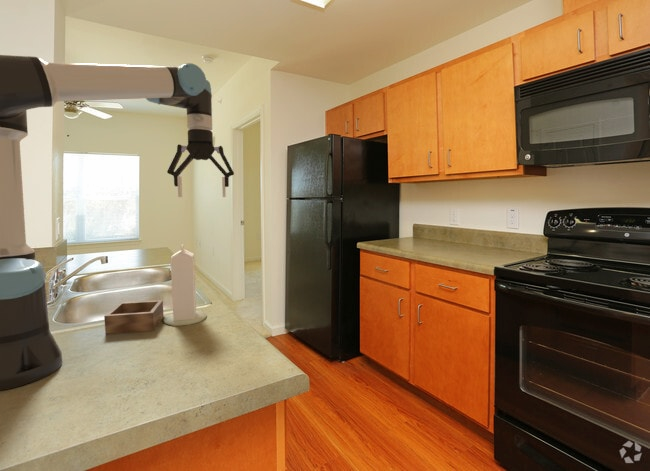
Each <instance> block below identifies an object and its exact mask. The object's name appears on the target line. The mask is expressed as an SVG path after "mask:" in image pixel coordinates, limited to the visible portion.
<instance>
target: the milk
mask: <svg viewBox="0 0 650 471" xmlns="http://www.w3.org/2000/svg"><path fill="white" fill-rule="evenodd" d="M184 245H185V244H184V243H182V244H181V246H180V250H178V251H177V252H175V253H174V254H172V255H171V257H170V274H171V276H170V277H171V292H172V296H171V297H172V313H173V320H174V321H177V320H188V319H195V316H196V310H197V294H196V291H197V290H196V272H195V271H196V269H195V267H196V266H195V253H194V252H191V251H189V249H188V250H187V249H185V247H184Z"/></svg>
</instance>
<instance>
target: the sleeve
mask: <svg viewBox="0 0 650 471" xmlns="http://www.w3.org/2000/svg"><path fill="white" fill-rule="evenodd" d="M163 315H164V300H162V299H159V300H145V301H143V300H142V301H125V302H119V303H118V304H116V305H115V306H114V307H113V308H112V309H110V311H108V313H106V314H105V315H104V329H105V330H104V332H105V335H109V334H123V333H136V332H138V333H139V332H148V331H155V329H156V328H157V326H158V325H157V324H159V323H160V322H161V321H162V319H161V318H164V316H163ZM159 321H160V322H159Z"/></svg>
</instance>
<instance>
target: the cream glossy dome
mask: <svg viewBox="0 0 650 471" xmlns="http://www.w3.org/2000/svg"><path fill="white" fill-rule="evenodd" d="M206 318H207V313H206V312H204V311H203V310H197V309H196V316H195V319H188V320H177V321H174V320H173V312H171V313H170V314H167V315H166V316H164V317H163V323H164V324H165V325H168V326H172V327H174V326H175V327H179V326H180V327H182V326H190V325H194V324H199V323H200V322H203V321H204V320H205V319H206Z"/></svg>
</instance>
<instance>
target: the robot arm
mask: <svg viewBox="0 0 650 471" xmlns="http://www.w3.org/2000/svg"><path fill="white" fill-rule="evenodd" d="M212 97H213V95H212V87H211V83H210V81H209V80H207V77H206V74H205V73H204V71H203V69H202V68H201V67H200V66H199V65H197V64H194V63H192V62H187V63H183V64H180V65H179V66H158V65H130V64H128V65H127V64H105V63H104V64H103V63H102V64H100V63H99V64H98V63H70V62H46V61H44V60H43V59H42V58H40V57H39V56H27V55H9V54H0V391H5V390H9V389H13V388H17V387H21V386H25V385H28V384H31V383H33V382H36V381H39V380H41V379H44V378H45V377H47V376H49V375H51V374H53V373H54V372H55V371H57V370H58V369H59V368H60V367H61V366H62V364H63V355H62V351H61V349H60V347H59V345H58V343H57V341H56V339H55V338H54V336H53V334H52V333H51V330H50V324H49V323H50V322H49V310H48V300H47V299H48V298H47V289H46V280H47V275H46V272H45V269H44V266H43V264H42V263H41V262H39V260H38V261H37V260H36V251H35V249H34V248H32V247H31V246H29V245H28V244H27V238H26V237H27V236H26V223H25V222H26V221H25V219H26V218H25V206H24V193H23V171H22V157H21V156H22V155H21V143H20V142H21V141H22V140H24V139H25V138H26V137H27V136H29V132H28V116H27V115H28V114H27V113H28V112H27V110H32V109H37V108H51V107H54V106H55V104H56V103H58V102H77V101H78V102H81V101H105V100H107V101H108V100H111V101H112V100H135V99H136V100H137V99H146V100H147V101H148V102H151V103H154V104H156V105H157V104H158V105H164V106H168V107H175V108H180V109H186V121H187V122H186V124H187V125H186V126H187V129H188V131H187V145H182V144H180V143H179V144H177V146H176V149H177V150H176V152H175V155H174V156H173V158H172V160H171V163H170V165H169V167H168V169H167V170H166V171H167V174H169V175H171V176H173V183H174V186H175V187H177V197H178V198H183V184H182V181H183V180H182V179H183V178H182V176H180V175H181V174H182V173H183V171H184V170H185V169H186V168H187V167H188V166H189V164H190V163H191V162H192V161H193V160H196V161H201V160H202V161H207V160H210V161H211V162H212V163H213V165H214V166H215V167H216V168H217V169H218V170H219V171H220V172H221V174H222V175H223V176H222V177H221V179H222V181H221V184H222V197H223V198H226V197H227V196H226V188H229V186H230V185H229V184H230V183H229V180H230V179H229V178H230V177H232V176H234V175H235V172H234V170H233V169H232V166H231V164H230V162H229V161H228V159H227V157H226V155H225V153H224V152H225V151H224V148H223V146H222V145H219V146H214V141H213V140H214V136H213V132H212V130H213V115H212V114H213V108H212ZM185 151H187V152H188V153H189V154H188V155H187V157H186V158H185V159H184V161H183V162H182V163H181V164H180V165H179V166H178V163H179V161H180V159H181V157H182V154H183V153H185ZM214 152H216V153H217V154H219V155H220V157H221V160H222V161H223V163H224V165H225V167H226V169H227V170H228V171H226V170H225V168H223V166H222V165H221V164H219V162H218V161H217V159H216V158H215V157H214V156H213V153H214ZM177 166H178V167H177ZM176 167H177V169H176ZM175 169H176V170H175Z"/></svg>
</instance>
